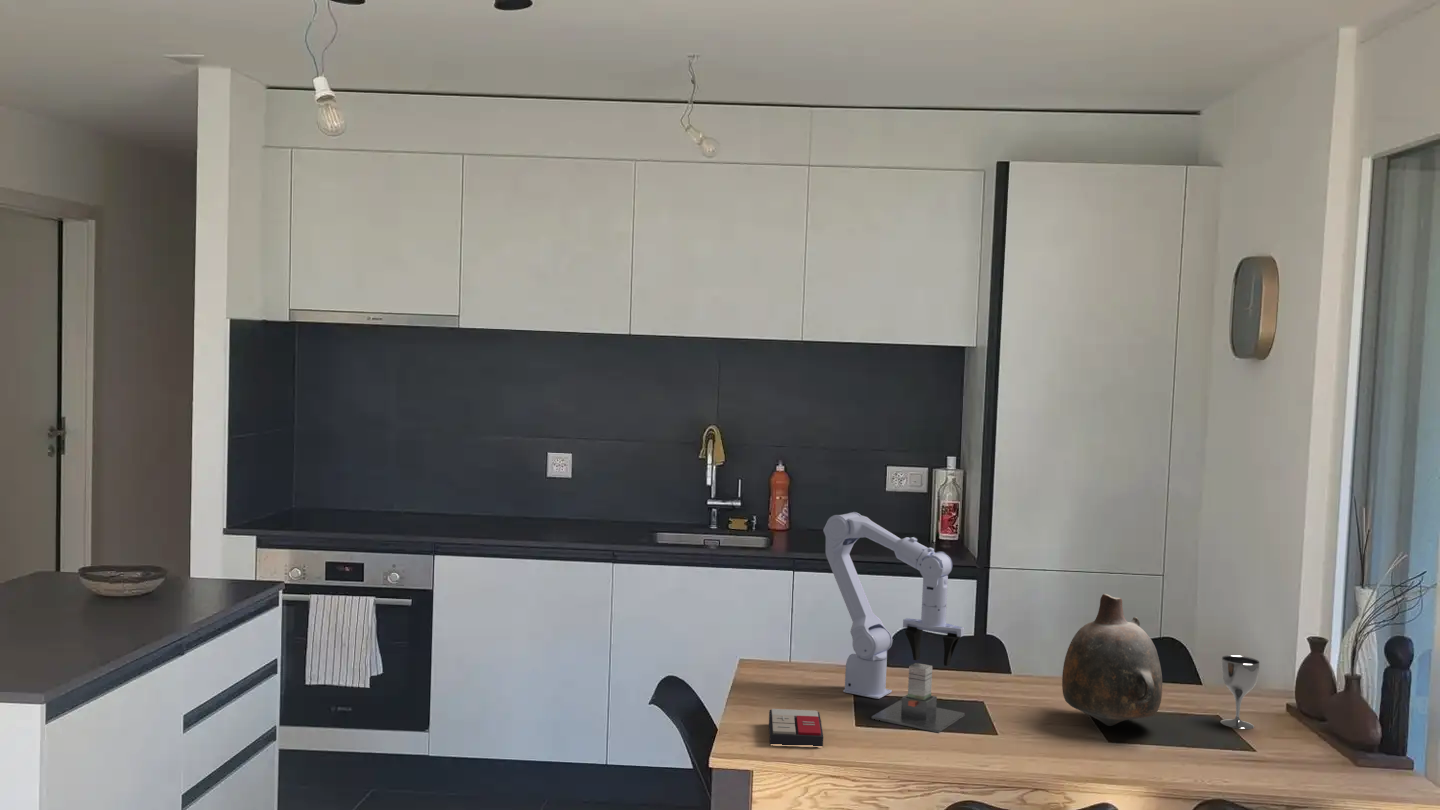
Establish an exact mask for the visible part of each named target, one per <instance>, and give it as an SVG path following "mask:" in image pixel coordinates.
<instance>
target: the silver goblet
mask: <svg viewBox="0 0 1440 810" xmlns="http://www.w3.org/2000/svg"><path fill="white" fill-rule="evenodd" d="M1260 664H1261V663H1260V660H1258V659H1255V658H1253V657H1249V656H1245V655H1244V656H1243V655H1232V654H1231V655H1230V654H1229V655H1223V656H1222V657H1221V675H1222V679H1223V682H1224V684H1225V686H1226V687H1227V689H1228V690H1229V691H1230V692H1231V693H1232V695H1233V698H1234V701H1235V716H1234V717H1235V718H1233V719H1232V718H1227V719H1221V720H1220V724H1222V725H1223V726H1226V727H1229V728H1233V729H1238V730H1250V729H1251V730H1252V729H1254V728H1255V725H1254V724H1252V723H1250V722H1249V721H1244V720H1242V719H1241V718H1240V712H1241V711H1240V710H1241V705H1242V701H1243V699H1244V697H1245V696H1246V695H1247V694H1248V693H1249V692H1251V691H1252V690H1253V689H1254V688H1255V686H1256V684H1257V682H1258V678H1259V674H1260V673H1259V672H1260Z"/></svg>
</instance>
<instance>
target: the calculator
mask: <svg viewBox="0 0 1440 810" xmlns="http://www.w3.org/2000/svg"><path fill="white" fill-rule="evenodd" d="M768 711H769V712H768V714H769V715H768V734H770V736H769V745H770V744H782V745H813V746H823V747H824V733H823V726H822V720H821V713H820V712H819V711H817V710H811V709H810V710H807V709H788V708H786V709H784V708H771V709H770V710H768Z"/></svg>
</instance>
